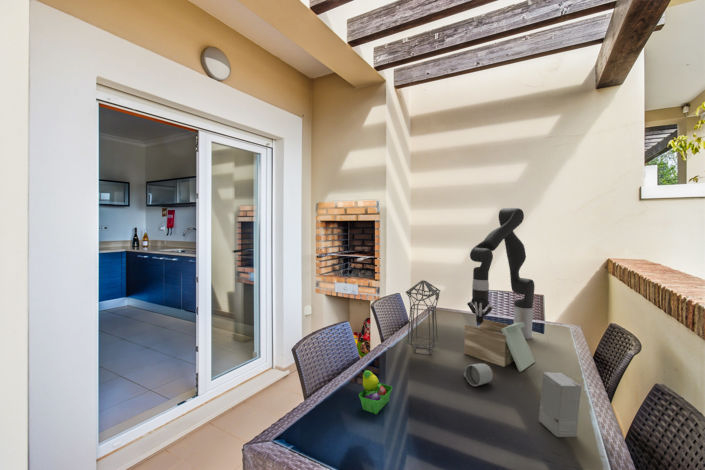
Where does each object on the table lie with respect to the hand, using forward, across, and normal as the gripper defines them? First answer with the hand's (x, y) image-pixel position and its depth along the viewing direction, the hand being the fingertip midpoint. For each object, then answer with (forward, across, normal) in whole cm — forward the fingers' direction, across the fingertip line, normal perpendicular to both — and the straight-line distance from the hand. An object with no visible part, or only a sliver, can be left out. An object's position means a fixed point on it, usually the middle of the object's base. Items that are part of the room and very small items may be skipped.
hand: (479, 323), depth 155 cm
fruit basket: (+14, 0, +74) cm, 75 cm away
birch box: (+14, -6, 0) cm, 15 cm away
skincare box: (+14, -45, +40) cm, 62 cm away
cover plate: (+6, -18, 0) cm, 19 cm away
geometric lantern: (+14, +19, +21) cm, 31 cm away
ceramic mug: (+14, -14, +31) cm, 37 cm away
